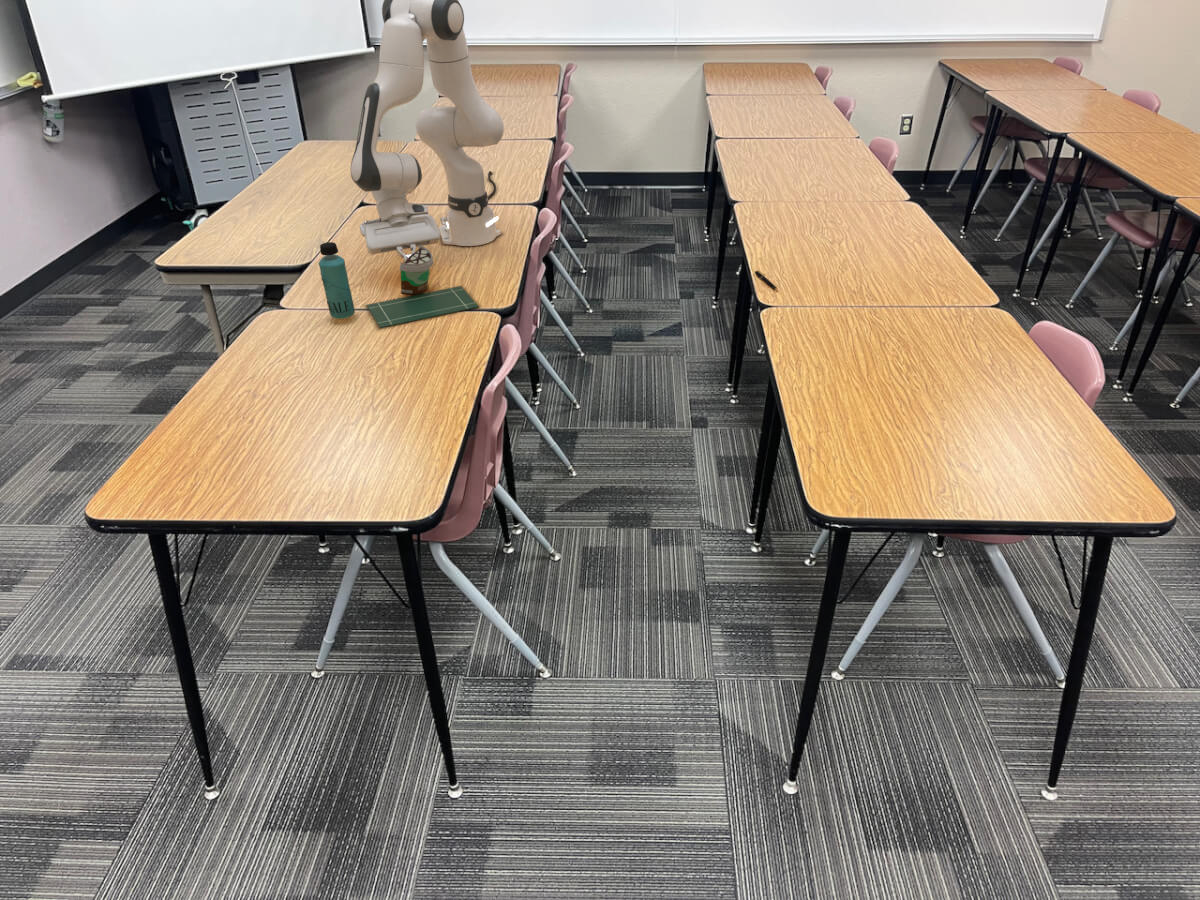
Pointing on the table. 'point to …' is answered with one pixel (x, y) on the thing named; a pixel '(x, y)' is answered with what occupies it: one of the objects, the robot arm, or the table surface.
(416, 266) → the grey green half-round piece
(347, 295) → the beverage bottle
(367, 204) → the table surface
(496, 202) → the table surface
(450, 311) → the cutting mat
